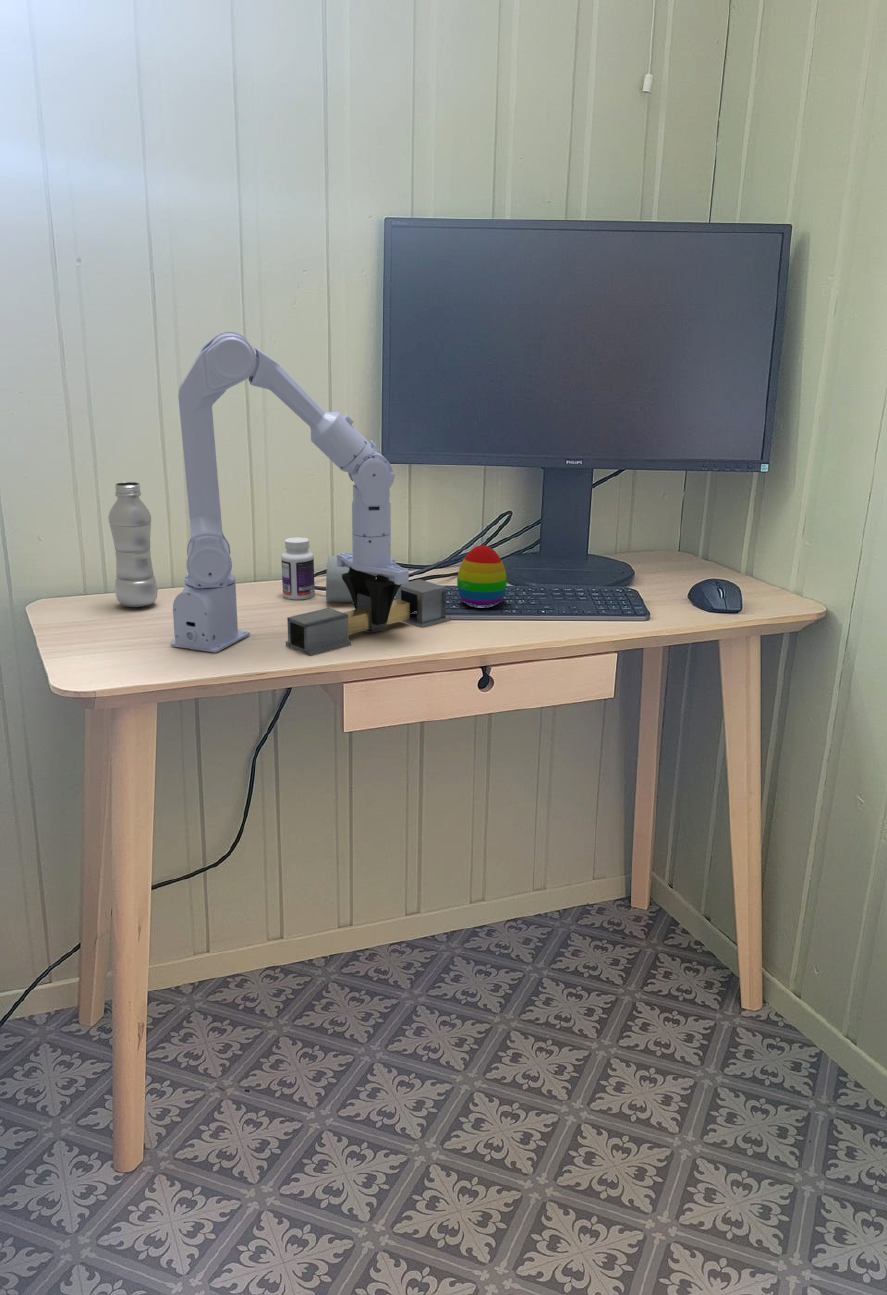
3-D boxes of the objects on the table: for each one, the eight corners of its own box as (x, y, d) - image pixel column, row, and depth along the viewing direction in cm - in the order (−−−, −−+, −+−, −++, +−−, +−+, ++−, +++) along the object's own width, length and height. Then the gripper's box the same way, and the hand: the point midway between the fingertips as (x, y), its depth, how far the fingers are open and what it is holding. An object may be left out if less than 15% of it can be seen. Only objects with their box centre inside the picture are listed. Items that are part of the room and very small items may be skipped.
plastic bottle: (153, 611, 175) (144, 487, 168) (111, 611, 175) (100, 487, 168) (163, 600, 181) (154, 480, 174) (122, 600, 181) (111, 480, 174)
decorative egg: (466, 613, 176) (467, 552, 173) (450, 599, 184) (451, 541, 180) (513, 609, 179) (515, 549, 176) (495, 595, 186) (497, 538, 183)
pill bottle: (317, 592, 187) (316, 536, 184) (311, 600, 182) (309, 543, 179) (286, 591, 187) (284, 535, 184) (279, 599, 182) (277, 542, 179)
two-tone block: (323, 645, 158) (323, 609, 156) (309, 639, 160) (308, 603, 159) (411, 622, 169) (411, 588, 167) (396, 617, 172) (396, 583, 170)
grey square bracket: (422, 627, 168) (422, 593, 167) (391, 617, 173) (391, 584, 172) (450, 620, 172) (450, 587, 171) (419, 610, 177) (419, 578, 176)
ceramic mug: (375, 607, 179) (375, 561, 176) (325, 607, 178) (324, 561, 176) (375, 591, 189) (375, 547, 186) (328, 591, 188) (327, 547, 186)
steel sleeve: (310, 655, 155) (309, 625, 154) (285, 645, 159) (284, 616, 158) (351, 644, 160) (350, 615, 159) (326, 635, 164) (325, 606, 163)
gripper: (424, 537, 159) (423, 626, 163) (361, 521, 169) (362, 605, 173) (387, 544, 154) (387, 635, 159) (325, 527, 164) (327, 613, 169)
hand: (372, 620), depth 166 cm, fingers closed on two-tone block, 3 cm apart
